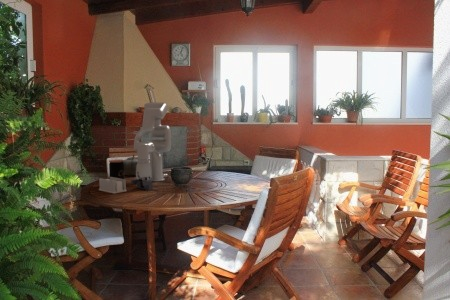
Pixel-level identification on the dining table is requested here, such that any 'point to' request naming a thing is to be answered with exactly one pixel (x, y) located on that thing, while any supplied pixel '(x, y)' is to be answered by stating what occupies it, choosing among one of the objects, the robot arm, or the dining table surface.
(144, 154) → the robot arm
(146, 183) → the grey bracket
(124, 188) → the stand
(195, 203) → the dining table surface
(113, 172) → the coffee jar
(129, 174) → the gourd
